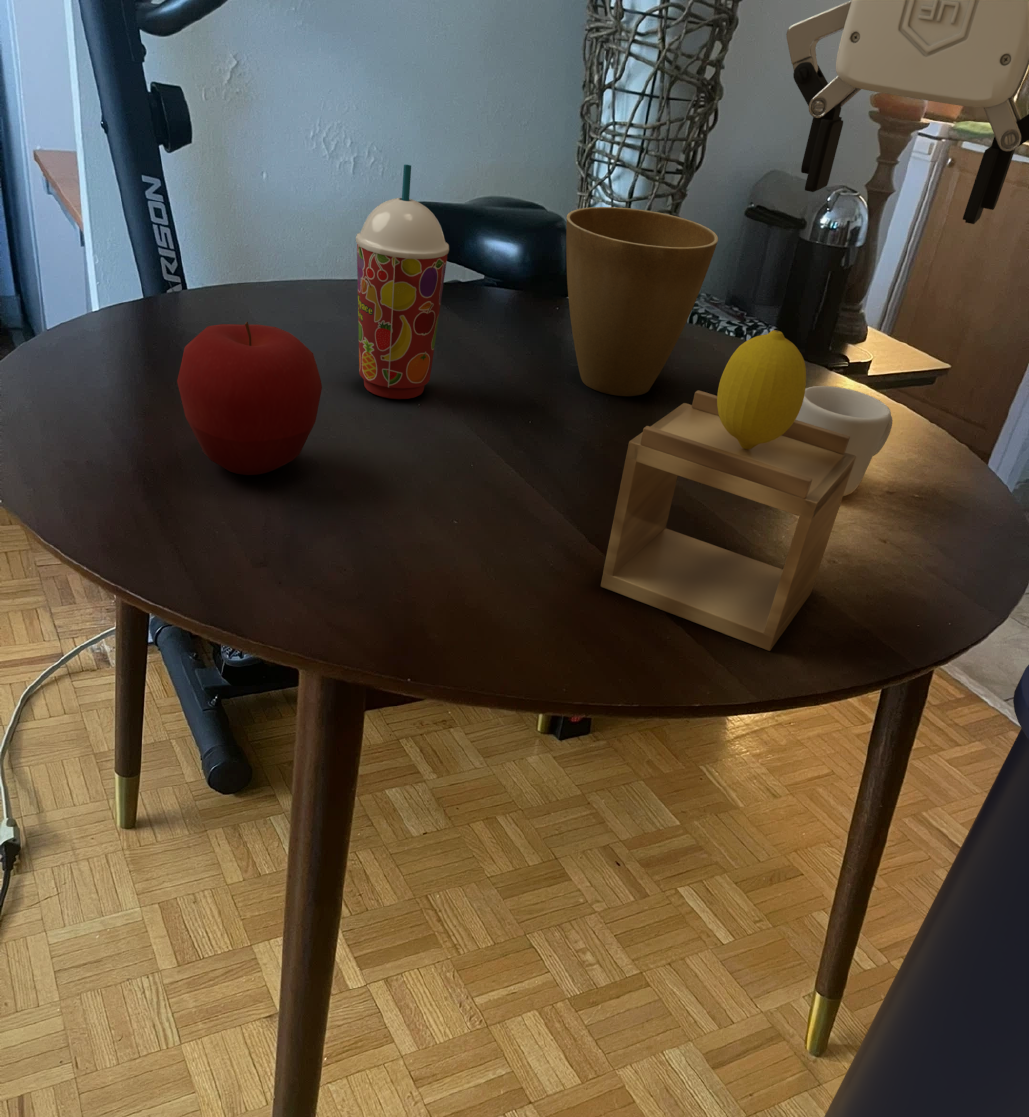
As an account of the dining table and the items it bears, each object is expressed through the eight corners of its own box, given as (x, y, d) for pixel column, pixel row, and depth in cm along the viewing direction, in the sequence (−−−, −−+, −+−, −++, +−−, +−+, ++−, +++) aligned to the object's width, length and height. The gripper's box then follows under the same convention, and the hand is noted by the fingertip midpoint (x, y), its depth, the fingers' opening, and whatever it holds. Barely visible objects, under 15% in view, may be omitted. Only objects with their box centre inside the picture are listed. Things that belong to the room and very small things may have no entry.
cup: (839, 459, 103) (865, 379, 99) (901, 494, 98) (932, 411, 94) (758, 472, 98) (781, 388, 94) (819, 510, 93) (847, 423, 88)
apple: (252, 510, 80) (250, 357, 73) (151, 465, 84) (140, 315, 77) (347, 468, 88) (352, 326, 81) (250, 429, 92) (248, 290, 85)
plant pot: (570, 349, 120) (593, 198, 111) (696, 381, 117) (732, 227, 108) (523, 387, 109) (545, 220, 100) (662, 423, 105) (699, 255, 96)
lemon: (694, 431, 74) (721, 314, 69) (767, 434, 75) (798, 319, 71) (722, 465, 69) (754, 343, 65) (799, 467, 71) (835, 348, 66)
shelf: (810, 594, 80) (861, 439, 73) (769, 651, 73) (822, 485, 66) (653, 538, 85) (687, 386, 78) (599, 586, 77) (632, 424, 70)
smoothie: (352, 370, 107) (361, 150, 95) (436, 378, 108) (454, 162, 96) (348, 401, 100) (356, 168, 88) (437, 409, 101) (457, 180, 89)
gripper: (814, -169, 56) (739, 184, 66) (1170, -139, 50) (1031, 243, 60) (847, -151, 62) (773, 171, 71) (1170, -122, 56) (1043, 224, 66)
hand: (891, 204), depth 66 cm, fingers open, 9 cm apart
